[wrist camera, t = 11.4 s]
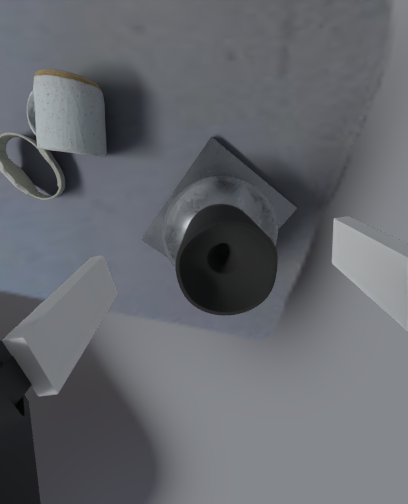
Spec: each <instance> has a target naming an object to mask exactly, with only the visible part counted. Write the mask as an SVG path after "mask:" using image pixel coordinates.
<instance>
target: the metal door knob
mask: <svg viewBox="0 0 408 504" xmlns="http://www.w3.org/2000/svg"><path fill="white" fill-rule="evenodd" d="M213 204H229V205H232V206H235V207H237V208H239V209H241V210H242V211H243V212H244V213H246V214H247V215H248V216H249V217H250V218H251V219H252V220H253V221H254V222H255V223H256V224H257V225H258V226H259V227H260V228H261V229H262V230H263V231H264V232H265V233H266V234H267V235H268V236H269V237H270V239H271V240H272V242H273V243H274V245H275V246H276V243H277V238H278V229H279V228H280V227H281V226H282V225H283V224H284V223H285V222H286V221H287V219H288V218H289V217H290V216H291V215H292V214H293V213H294V212H295V210H296V209H297V207H295V206H294V205H293V204H292V203H291V202H289V201H288V200H287V199H286V198H285V197H283V196H282V195H281V194H280V193H279V192H277V191H276V190H275V189H274V188H273V187H271V186H270V185H269V184H268V183H266V182H265V181H264V180H263V179H262V178H260V177H259V176H258V175H257V174H256V173H254V172H253V171H252V170H251V169H250V168H248V167H247V166H246V165H245V164H244V163H242V162H241V161H240V160H239V159H238V158H236V157H235V156H234V155H233V154H232V153H230V152H229V151H228V150H227V149H226V148H224V147H223V146H222V145H221V144H220V143H218V142H217V141H216V140H215V139H214V138H212V137H211V138H210V140H209V141H208V142H207V144H206V145H205V147H204V148H203V150H202V151H201V153H200V154H199V156H198V157H197V159H196V160H195V162H194V163H193V164H192V166H191V167H190V169H189V170H188V172H187V173H186V175H185V176H184V178H183V179H182V181H181V182H180V184H179V185H178V187H177V188H176V189H175V191H174V192H173V194H172V195H171V197H170V198H169V200H168V201H167V203H166V204H165V206H164V207H163V209H162V210H161V211H160V213H159V214H158V216H157V217H156V219H155V220H154V222H153V223H152V225H151V226H150V228H149V229H148V231H147V232H146V234H145V235H144V236H143V238H142V239H141V240H142V241H144V242H145V243H147V244H148V245H150V246H152V247H153V248H155V249H156V250H158V251H159V252H161V253H162V254H164V255H165V256H167V257H168V258H169V260H170V261H171V263H172V264H173V266H174V267H175V268H176V266H175V263H176V256H177V253H178V250H179V247H180V245H181V242H182V239H183V237H184V234H185V232H186V229H187V227H188V224H189V223H190V221H191V219H192V218H193V217H194V215H195V214H196V213H197V212H199V211H200V210H201V209H203V208H205V207H207V206H210V205H213Z"/></svg>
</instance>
